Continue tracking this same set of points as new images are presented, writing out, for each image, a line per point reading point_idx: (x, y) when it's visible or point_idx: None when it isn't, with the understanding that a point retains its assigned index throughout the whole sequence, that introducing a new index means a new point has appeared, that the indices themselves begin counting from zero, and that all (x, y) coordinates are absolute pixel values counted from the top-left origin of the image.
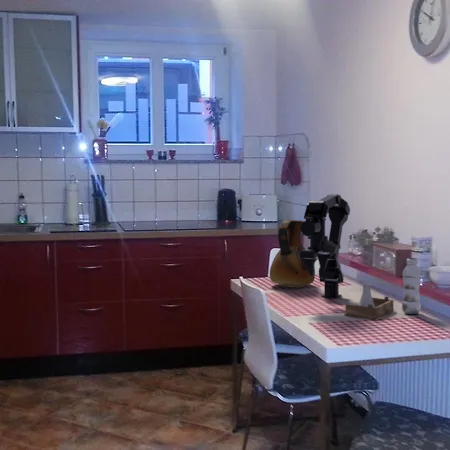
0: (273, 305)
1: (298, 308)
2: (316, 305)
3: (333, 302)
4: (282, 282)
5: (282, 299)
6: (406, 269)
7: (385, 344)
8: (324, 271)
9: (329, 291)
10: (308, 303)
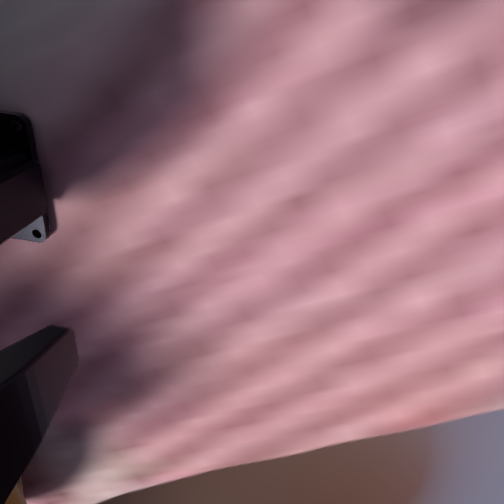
0: (439, 417)
1: (494, 267)
2: (335, 176)
3: (154, 79)
4: (22, 499)
5: (251, 413)
6: None
7: None
8: (51, 329)
9: (11, 184)
10: (290, 253)
